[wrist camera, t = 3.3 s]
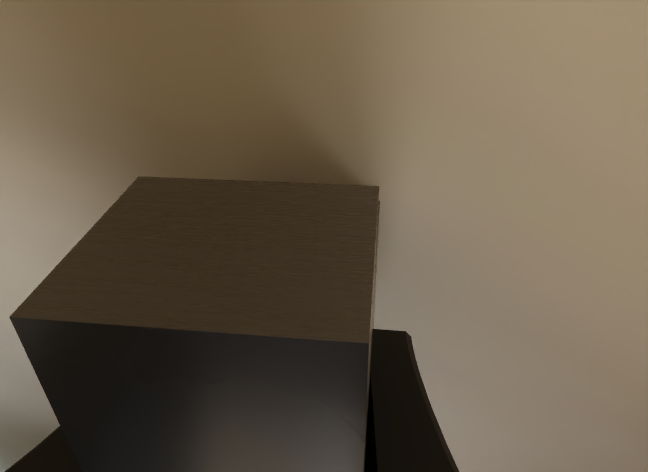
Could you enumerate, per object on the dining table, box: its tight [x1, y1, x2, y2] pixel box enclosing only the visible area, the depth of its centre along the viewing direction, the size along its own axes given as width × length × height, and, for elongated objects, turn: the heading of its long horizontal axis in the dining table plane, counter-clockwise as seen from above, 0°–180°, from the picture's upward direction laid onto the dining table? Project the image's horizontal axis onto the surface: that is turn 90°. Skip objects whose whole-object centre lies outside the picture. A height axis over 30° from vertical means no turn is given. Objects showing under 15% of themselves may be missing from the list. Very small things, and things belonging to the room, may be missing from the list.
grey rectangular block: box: [10, 177, 380, 472], centre depth 9 cm, size 3×9×6 cm, turn 1°
